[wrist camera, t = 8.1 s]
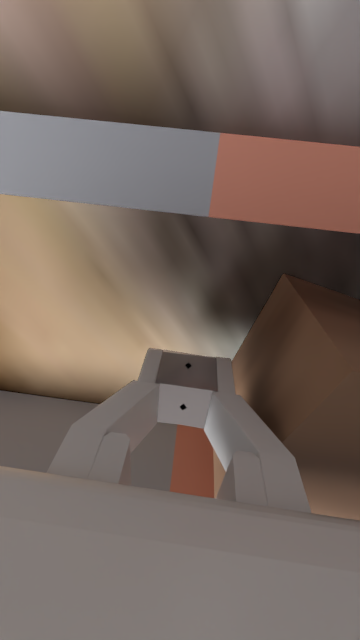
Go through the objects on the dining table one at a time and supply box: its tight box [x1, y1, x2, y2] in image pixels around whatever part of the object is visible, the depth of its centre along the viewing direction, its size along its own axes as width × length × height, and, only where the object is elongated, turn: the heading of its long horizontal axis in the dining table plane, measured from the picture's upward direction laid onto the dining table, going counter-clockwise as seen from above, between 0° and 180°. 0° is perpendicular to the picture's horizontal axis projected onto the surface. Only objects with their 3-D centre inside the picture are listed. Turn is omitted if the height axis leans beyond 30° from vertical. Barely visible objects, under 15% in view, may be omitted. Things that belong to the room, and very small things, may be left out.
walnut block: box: [213, 273, 360, 520], centre depth 9 cm, size 7×7×5 cm
